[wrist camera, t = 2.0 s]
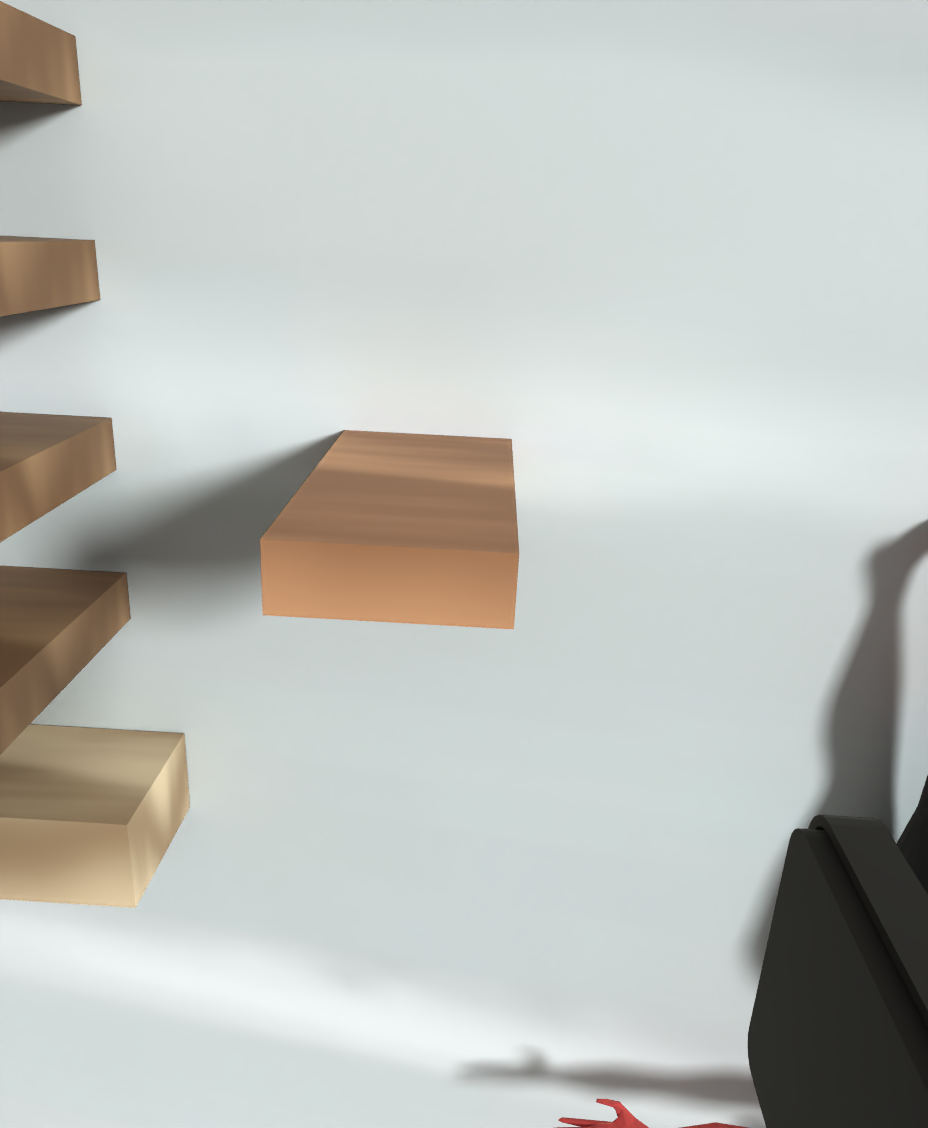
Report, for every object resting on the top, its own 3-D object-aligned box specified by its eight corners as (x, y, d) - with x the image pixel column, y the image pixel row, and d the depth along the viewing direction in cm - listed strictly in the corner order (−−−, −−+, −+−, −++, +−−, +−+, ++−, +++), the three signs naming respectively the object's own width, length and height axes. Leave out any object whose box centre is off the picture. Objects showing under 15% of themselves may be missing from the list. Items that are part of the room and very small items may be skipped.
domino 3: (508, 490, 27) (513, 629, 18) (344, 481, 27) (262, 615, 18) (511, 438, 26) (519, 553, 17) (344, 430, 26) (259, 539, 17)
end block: (189, 806, 31) (135, 907, 27) (-34, 793, 32) (-127, 891, 27) (184, 733, 30) (127, 825, 26) (-47, 719, 30) (-146, 808, 26)
